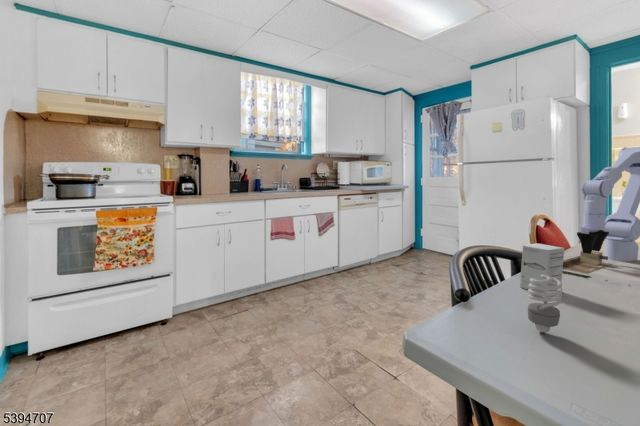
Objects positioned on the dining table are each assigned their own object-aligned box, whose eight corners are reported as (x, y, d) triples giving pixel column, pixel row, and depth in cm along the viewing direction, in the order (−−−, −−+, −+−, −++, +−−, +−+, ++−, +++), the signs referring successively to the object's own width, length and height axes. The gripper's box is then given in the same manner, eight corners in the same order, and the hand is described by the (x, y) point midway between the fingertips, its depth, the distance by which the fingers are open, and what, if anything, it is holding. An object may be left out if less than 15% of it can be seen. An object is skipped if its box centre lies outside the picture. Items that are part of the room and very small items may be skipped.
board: (582, 262, 120) (582, 254, 120) (613, 268, 113) (613, 259, 112) (554, 271, 109) (555, 262, 108) (586, 278, 101) (587, 269, 101)
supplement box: (518, 287, 93) (521, 244, 91) (534, 284, 96) (537, 242, 94) (545, 295, 86) (549, 249, 85) (562, 291, 89) (565, 247, 88)
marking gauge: (584, 260, 117) (585, 249, 117) (609, 264, 112) (610, 253, 111) (579, 262, 115) (580, 251, 115) (604, 266, 109) (605, 254, 109)
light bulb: (527, 324, 69) (530, 269, 68) (559, 331, 65) (564, 274, 64) (523, 333, 65) (527, 276, 63) (558, 342, 61) (562, 281, 60)
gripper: (589, 212, 120) (586, 247, 121) (571, 214, 112) (568, 252, 114) (613, 213, 114) (610, 251, 115) (597, 216, 106) (593, 256, 108)
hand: (591, 252), depth 114 cm, fingers open, 7 cm apart
